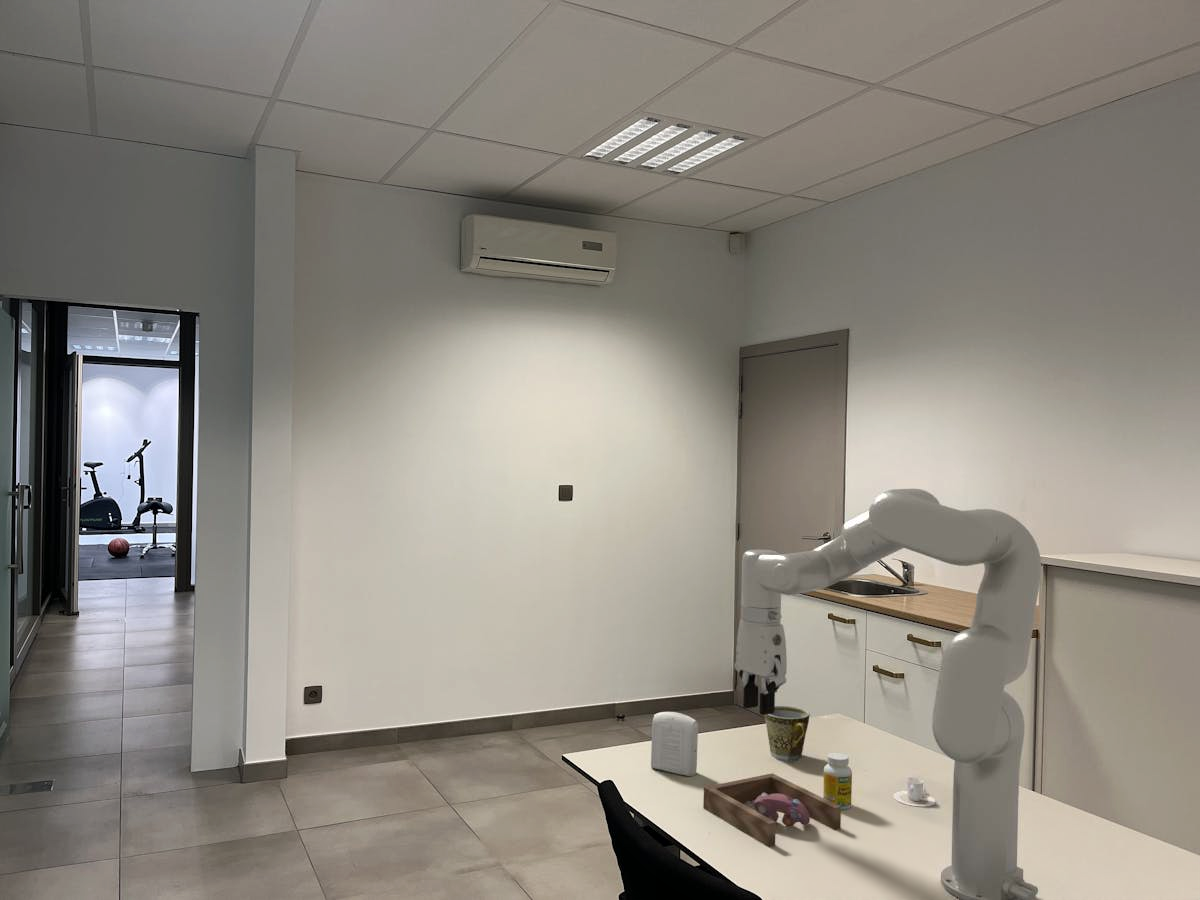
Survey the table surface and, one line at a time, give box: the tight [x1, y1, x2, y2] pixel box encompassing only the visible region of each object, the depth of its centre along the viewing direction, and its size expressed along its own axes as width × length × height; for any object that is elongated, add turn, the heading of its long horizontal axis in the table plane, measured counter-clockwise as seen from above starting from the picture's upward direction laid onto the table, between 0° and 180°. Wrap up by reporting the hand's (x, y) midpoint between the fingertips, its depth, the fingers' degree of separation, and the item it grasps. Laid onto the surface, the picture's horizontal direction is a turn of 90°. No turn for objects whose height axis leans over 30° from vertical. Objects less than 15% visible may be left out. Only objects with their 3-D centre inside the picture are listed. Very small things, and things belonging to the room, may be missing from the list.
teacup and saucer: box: [892, 777, 936, 808], centre depth 180 cm, size 9×8×4 cm
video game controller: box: [753, 793, 811, 828], centre depth 166 cm, size 10×5×7 cm, turn 62°
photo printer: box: [650, 711, 699, 777], centre depth 193 cm, size 10×4×12 cm, turn 60°
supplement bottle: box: [822, 752, 853, 811], centre depth 175 cm, size 5×5×10 cm
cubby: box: [702, 773, 842, 848], centre depth 168 cm, size 19×17×4 cm
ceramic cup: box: [764, 705, 811, 762], centre depth 202 cm, size 13×10×10 cm
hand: (758, 709), depth 172 cm, fingers open, 4 cm apart
